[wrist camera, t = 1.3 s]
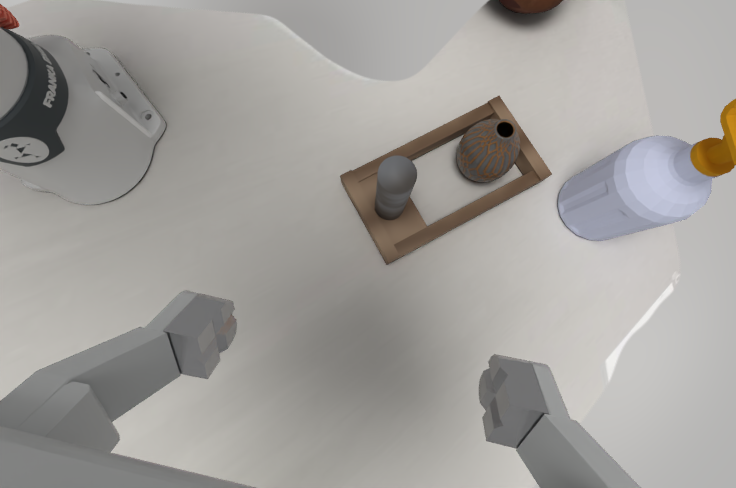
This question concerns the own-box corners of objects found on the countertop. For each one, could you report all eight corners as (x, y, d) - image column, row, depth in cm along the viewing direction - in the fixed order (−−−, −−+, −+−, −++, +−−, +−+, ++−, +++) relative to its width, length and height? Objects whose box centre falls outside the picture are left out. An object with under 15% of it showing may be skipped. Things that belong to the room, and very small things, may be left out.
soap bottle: (564, 245, 40) (870, 161, 16) (549, 177, 41) (806, 7, 17) (632, 237, 40) (1038, 144, 16) (615, 171, 42) (961, -7, 18)
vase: (451, 138, 42) (473, 97, 34) (502, 142, 42) (537, 101, 34) (450, 186, 41) (472, 157, 33) (502, 190, 41) (538, 162, 33)
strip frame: (341, 182, 41) (331, 136, 29) (491, 106, 43) (538, 35, 31) (386, 264, 39) (395, 250, 27) (541, 181, 41) (610, 134, 30)
